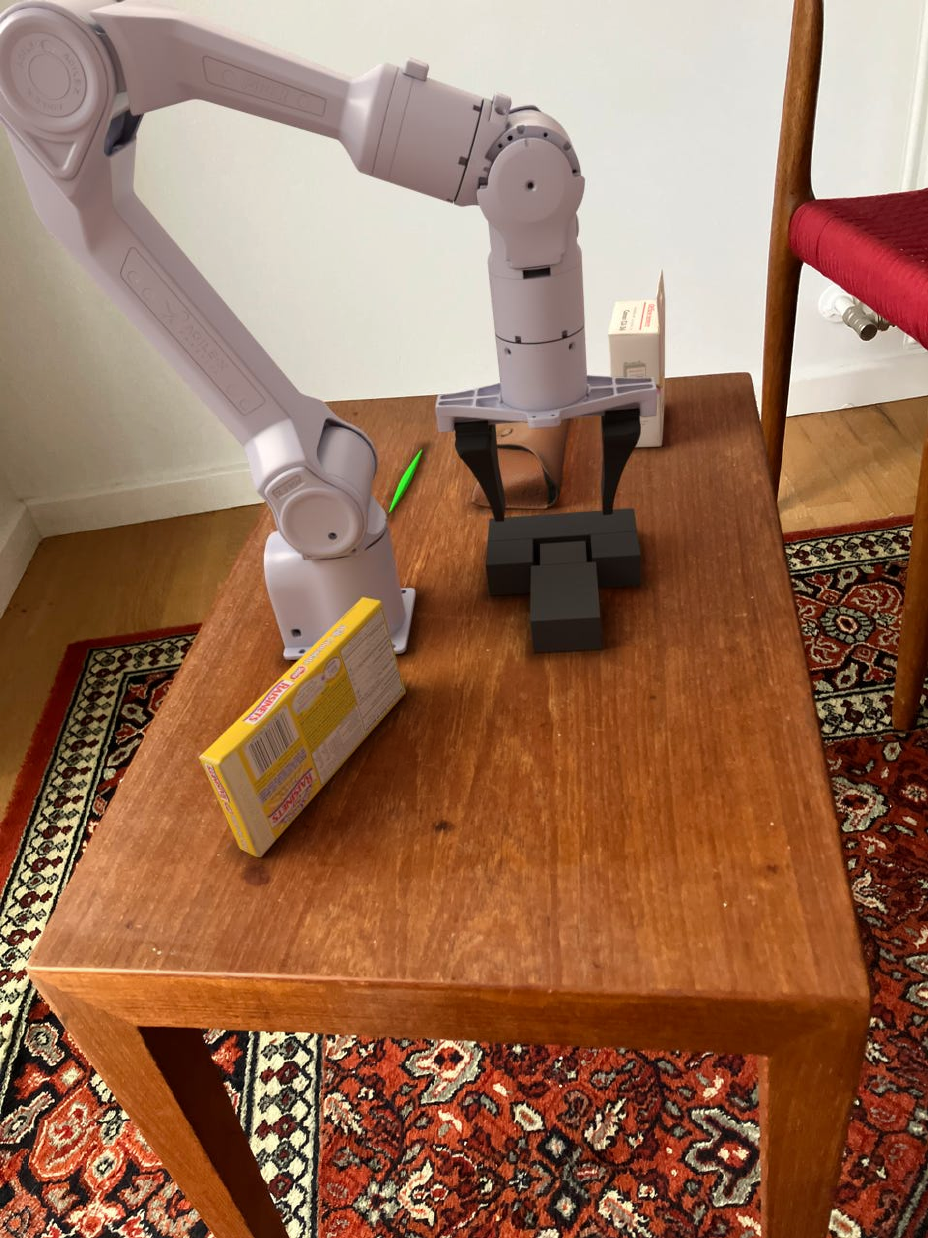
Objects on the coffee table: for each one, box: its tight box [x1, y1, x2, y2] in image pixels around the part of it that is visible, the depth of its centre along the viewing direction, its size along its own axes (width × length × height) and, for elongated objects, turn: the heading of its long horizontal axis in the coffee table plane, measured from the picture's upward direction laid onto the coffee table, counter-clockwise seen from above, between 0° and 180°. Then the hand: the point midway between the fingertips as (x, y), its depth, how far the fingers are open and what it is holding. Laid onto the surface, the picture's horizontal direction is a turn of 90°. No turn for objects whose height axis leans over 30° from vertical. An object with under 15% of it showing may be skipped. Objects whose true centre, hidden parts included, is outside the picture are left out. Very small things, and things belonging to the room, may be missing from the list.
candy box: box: [198, 597, 407, 858], centre depth 60 cm, size 16×2×8 cm, turn 149°
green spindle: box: [386, 446, 424, 518], centre depth 92 cm, size 1×14×1 cm, turn 168°
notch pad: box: [485, 507, 642, 596], centre depth 77 cm, size 12×7×3 cm, turn 86°
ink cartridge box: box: [607, 268, 666, 448], centre depth 91 cm, size 9×5×15 cm, turn 168°
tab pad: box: [529, 541, 603, 654], centre depth 72 cm, size 5×10×3 cm, turn 176°
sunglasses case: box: [470, 418, 571, 510], centre depth 91 cm, size 18×7×7 cm
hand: (553, 511), depth 68 cm, fingers open, 7 cm apart
